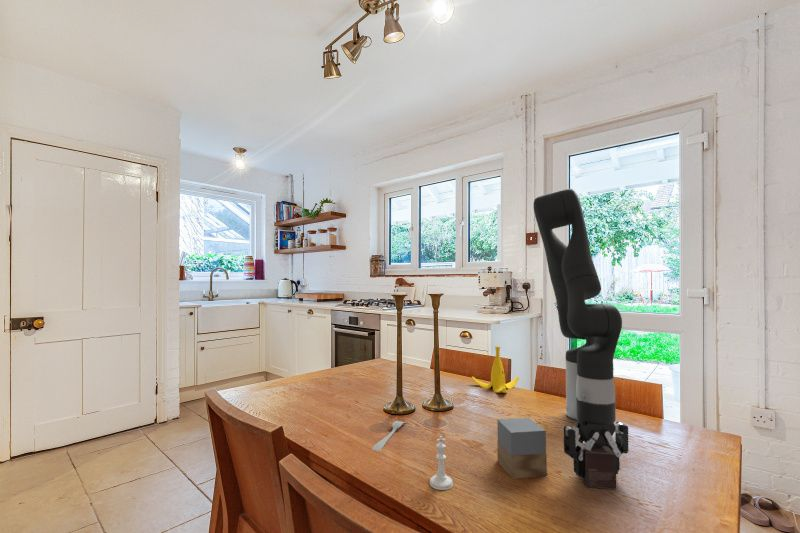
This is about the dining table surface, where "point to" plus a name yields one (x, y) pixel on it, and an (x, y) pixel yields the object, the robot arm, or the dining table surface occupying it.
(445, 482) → the chess piece
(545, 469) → the tower bottom
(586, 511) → the dining table surface
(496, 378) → the banana peel
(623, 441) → the robot arm
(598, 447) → the box
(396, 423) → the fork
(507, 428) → the tower top
